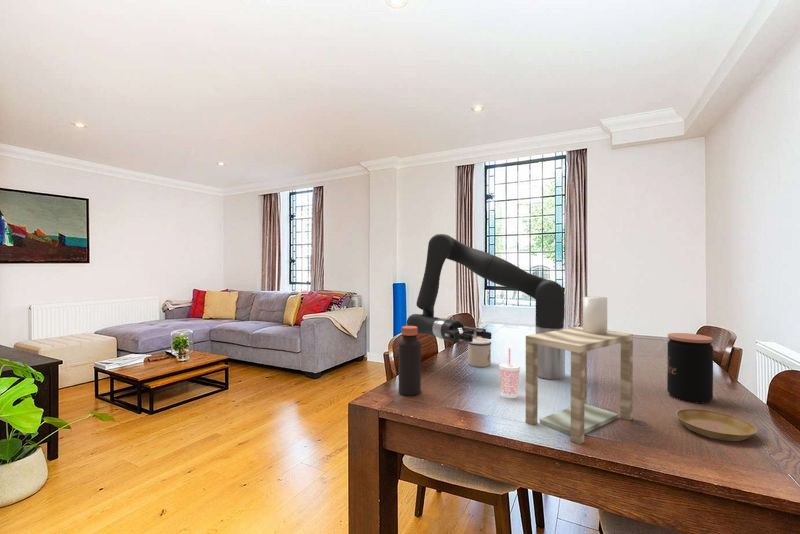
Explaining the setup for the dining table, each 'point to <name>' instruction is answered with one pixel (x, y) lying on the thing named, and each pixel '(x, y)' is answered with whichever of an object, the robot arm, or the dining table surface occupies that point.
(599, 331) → the candle
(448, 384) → the dining table surface
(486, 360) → the beige lidded canister
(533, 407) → the stand
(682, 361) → the coffee jar
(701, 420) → the plant saucer
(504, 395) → the beverage cup
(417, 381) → the bottle
